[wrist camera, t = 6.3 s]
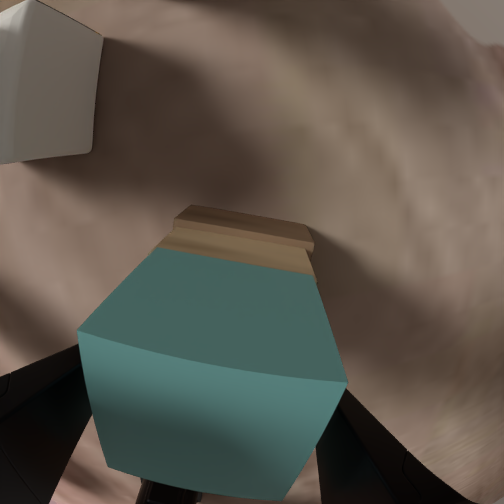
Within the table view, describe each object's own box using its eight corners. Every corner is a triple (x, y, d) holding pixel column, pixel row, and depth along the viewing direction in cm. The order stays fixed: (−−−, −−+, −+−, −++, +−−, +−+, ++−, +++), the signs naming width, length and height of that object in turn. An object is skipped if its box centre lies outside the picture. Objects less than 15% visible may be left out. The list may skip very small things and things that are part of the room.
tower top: (279, 353, 15) (281, 403, 12) (169, 334, 15) (147, 379, 12) (305, 248, 13) (317, 282, 10) (176, 226, 13) (148, 253, 10)
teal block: (278, 390, 11) (281, 500, 7) (152, 367, 11) (107, 467, 7) (312, 275, 10) (348, 382, 5) (157, 246, 10) (76, 330, 5)
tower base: (281, 322, 18) (284, 357, 15) (181, 304, 18) (165, 336, 15) (304, 223, 16) (314, 243, 13) (192, 204, 16) (174, 218, 13)
